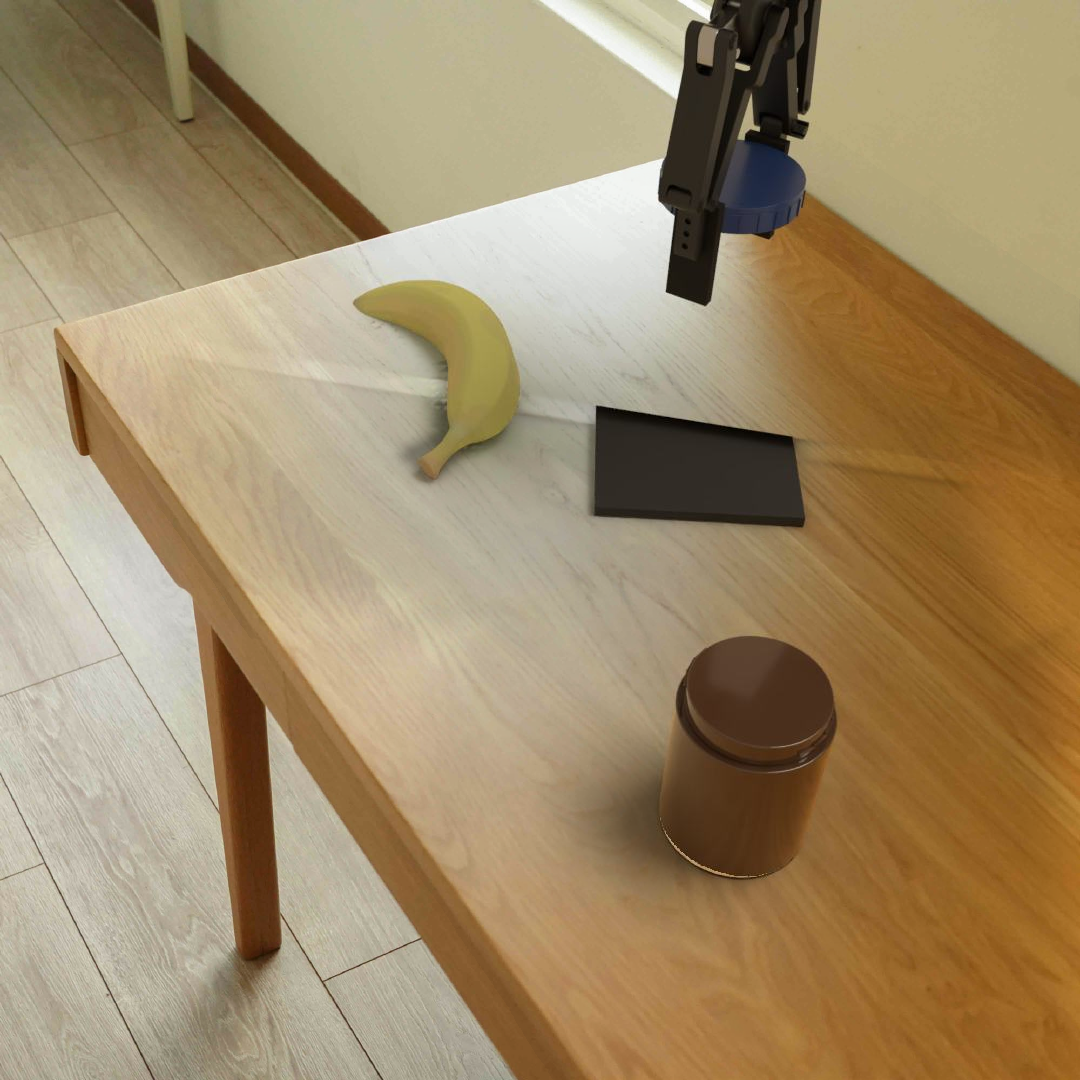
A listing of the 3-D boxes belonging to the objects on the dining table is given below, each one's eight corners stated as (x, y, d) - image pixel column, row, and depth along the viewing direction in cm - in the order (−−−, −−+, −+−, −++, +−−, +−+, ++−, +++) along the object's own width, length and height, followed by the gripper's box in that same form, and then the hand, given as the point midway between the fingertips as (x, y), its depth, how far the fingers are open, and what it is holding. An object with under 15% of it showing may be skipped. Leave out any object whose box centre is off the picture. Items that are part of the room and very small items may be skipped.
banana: (515, 244, 101) (498, 435, 88) (533, 300, 105) (518, 491, 92) (344, 272, 104) (302, 461, 91) (367, 326, 108) (331, 514, 95)
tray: (784, 399, 100) (785, 391, 100) (803, 526, 90) (805, 518, 89) (596, 390, 100) (596, 381, 100) (594, 515, 90) (595, 507, 90)
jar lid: (638, 215, 79) (641, 188, 78) (682, 151, 85) (685, 126, 84) (782, 248, 77) (786, 221, 76) (817, 181, 83) (821, 155, 82)
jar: (811, 771, 75) (847, 645, 68) (801, 893, 69) (838, 769, 62) (669, 744, 76) (689, 617, 69) (647, 862, 70) (667, 736, 63)
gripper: (794, -185, 77) (739, 177, 92) (613, -81, 63) (584, 323, 79) (920, -160, 74) (841, 209, 90) (760, -45, 61) (699, 366, 76)
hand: (721, 262), depth 84 cm, fingers closed on jar lid, 9 cm apart
